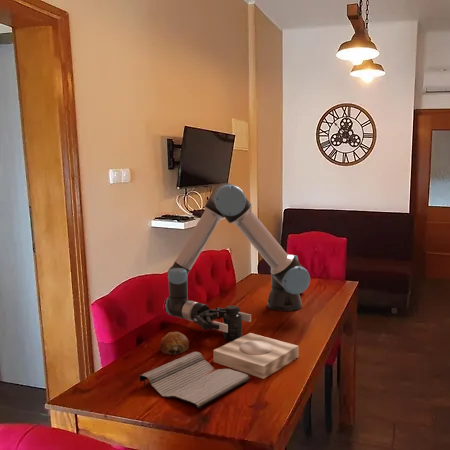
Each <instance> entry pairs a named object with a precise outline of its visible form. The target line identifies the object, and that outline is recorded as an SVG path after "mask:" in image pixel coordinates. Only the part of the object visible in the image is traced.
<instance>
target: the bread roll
mask: <svg viewBox="0 0 450 450" xmlns="http://www.w3.org/2000/svg"><path fill="white" fill-rule="evenodd" d="M189 341H190V340H189V339H188V337H187V336H186V335H185V334H183V333H182V332H179V331H170V332H169V331H168V333H167V334H166V335H164V336H163V337H162V338H161V341H160V352H162V354H164V353H165V355H172V356H173V355H174V356H176V355H179V354H180V353H181V354H183V353H185V352H187V351H188V350H189V345H190V343H189Z"/></svg>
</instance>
